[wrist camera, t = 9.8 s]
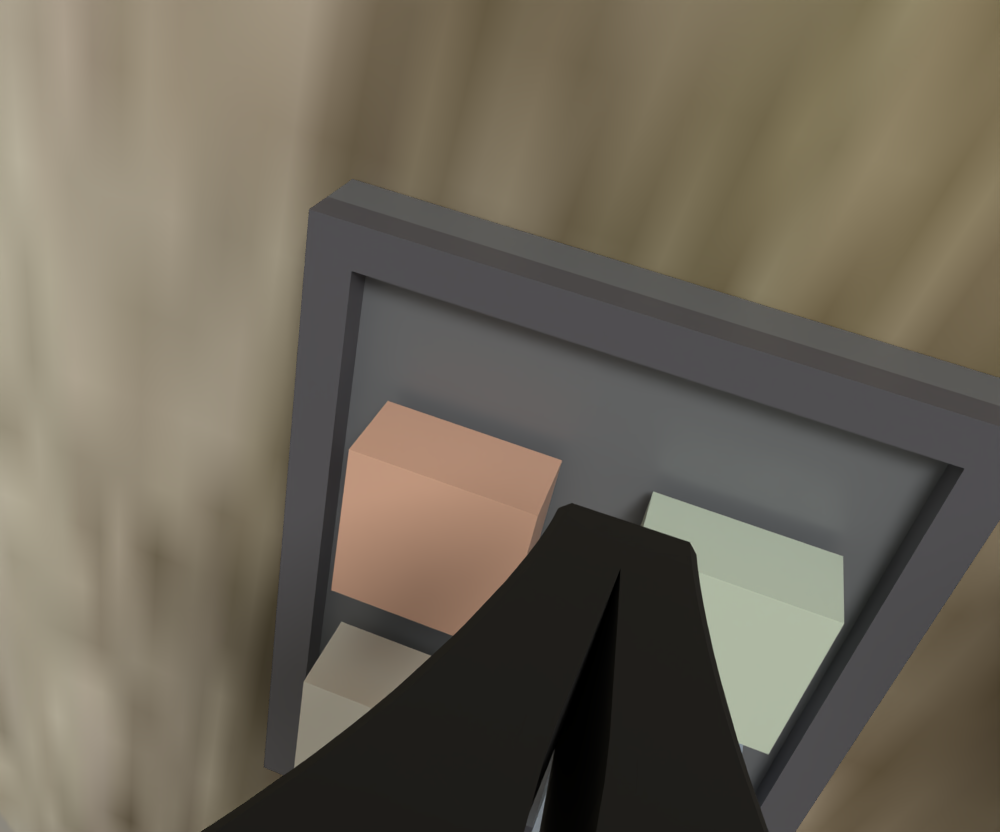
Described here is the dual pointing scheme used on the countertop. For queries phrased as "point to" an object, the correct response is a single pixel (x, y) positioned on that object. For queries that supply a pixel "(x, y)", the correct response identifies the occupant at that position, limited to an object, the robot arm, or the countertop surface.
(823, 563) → the key sage
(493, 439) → the key terracotta
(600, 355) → the dark grey tray
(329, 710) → the key cream
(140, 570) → the countertop surface
